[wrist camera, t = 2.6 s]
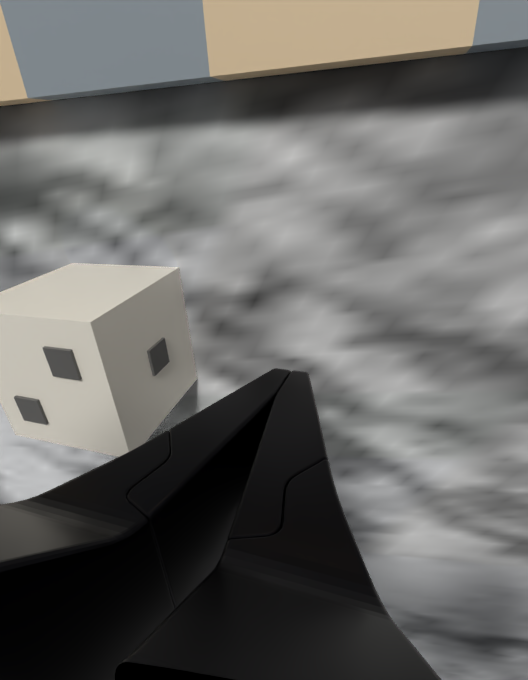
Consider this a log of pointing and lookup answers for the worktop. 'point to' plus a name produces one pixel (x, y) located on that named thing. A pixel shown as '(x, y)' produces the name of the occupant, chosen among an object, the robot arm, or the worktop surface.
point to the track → (229, 40)
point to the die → (94, 355)
